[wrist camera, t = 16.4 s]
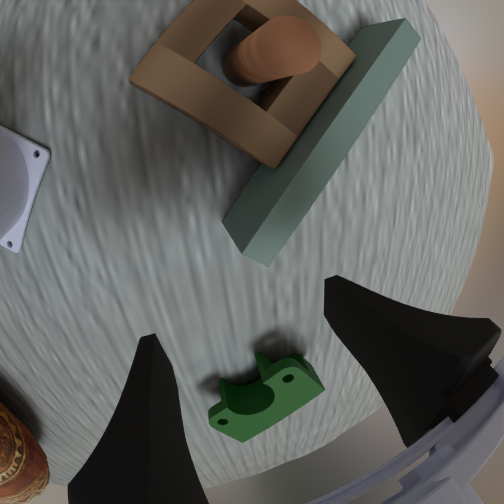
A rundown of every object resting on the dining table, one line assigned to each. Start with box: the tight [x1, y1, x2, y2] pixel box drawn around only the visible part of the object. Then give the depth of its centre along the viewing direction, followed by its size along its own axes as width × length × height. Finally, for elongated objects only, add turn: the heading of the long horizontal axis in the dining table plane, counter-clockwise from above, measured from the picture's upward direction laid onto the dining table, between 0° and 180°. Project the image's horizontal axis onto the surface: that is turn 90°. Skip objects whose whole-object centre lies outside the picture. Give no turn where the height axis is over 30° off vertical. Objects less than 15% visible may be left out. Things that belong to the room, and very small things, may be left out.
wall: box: [222, 18, 421, 267], centre depth 16 cm, size 2×20×5 cm, turn 144°
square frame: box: [128, 0, 356, 170], centre depth 14 cm, size 10×10×3 cm
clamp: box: [208, 352, 325, 443], centre depth 27 cm, size 12×6×9 cm, turn 122°
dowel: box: [223, 15, 322, 87], centre depth 12 cm, size 3×3×7 cm
